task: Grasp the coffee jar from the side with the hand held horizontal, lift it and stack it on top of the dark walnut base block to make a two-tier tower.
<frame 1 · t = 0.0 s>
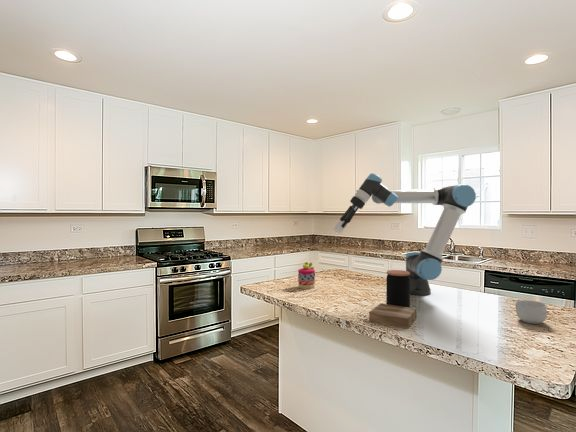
hand: (336, 231, 180), 36 cm above the countertop, tool tilted 35°, fingers open, 13 cm apart
teacup: (530, 321, 143), on the countertop
cake: (306, 287, 205), on the countertop
walnut base block: (393, 319, 144), on the countertop
coffee jar: (397, 309, 159), on the countertop
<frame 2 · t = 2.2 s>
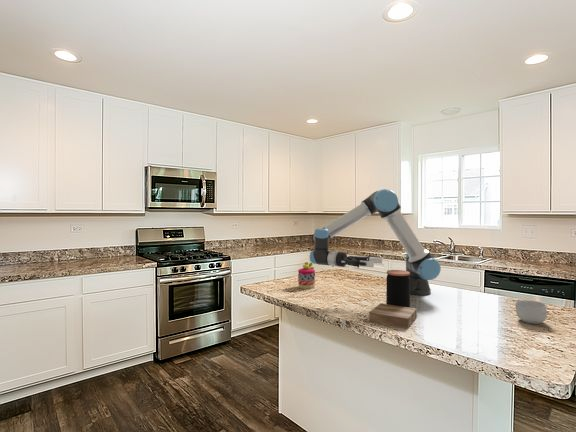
hand: (377, 262, 164), 22 cm above the countertop, tool horizontal, fingers open, 13 cm apart
nothing on the countertop moved.
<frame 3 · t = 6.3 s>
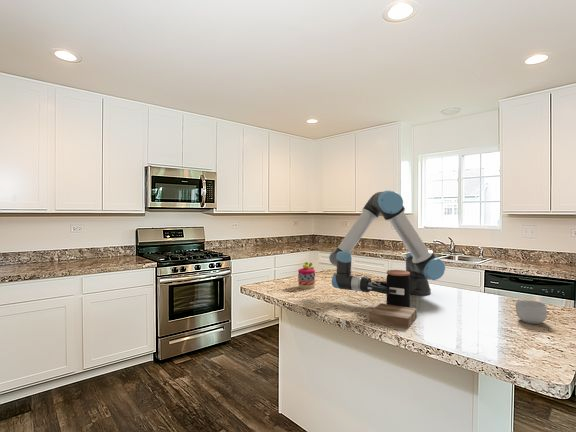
hand: (407, 289, 157), 10 cm above the countertop, tool horizontal, fingers closed on coffee jar, 10 cm apart
coffee jar: (398, 309, 159), on the countertop, touching gripper
everything else where it was.
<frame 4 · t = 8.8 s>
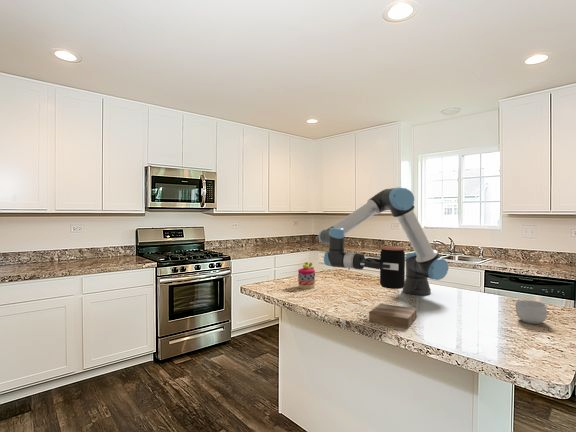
hand: (401, 265, 149), 23 cm above the countertop, tool horizontal, fingers closed on coffee jar, 11 cm apart
coffee jar: (392, 287, 151), point 12 cm above the countertop, touching gripper
everything else where it was.
when the fingers open (15 cm above the countertop, at t = 11.7 s): coffee jar stays where it is, resting on walnut base block.
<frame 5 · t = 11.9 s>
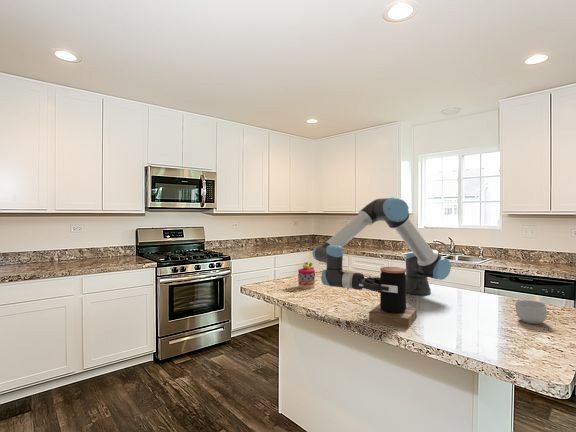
hand: (401, 286, 142), 15 cm above the countertop, tool horizontal, fingers open, 13 cm apart
coffee jar: (393, 310, 144), point 4 cm above the countertop, touching walnut base block
everything else where it was.
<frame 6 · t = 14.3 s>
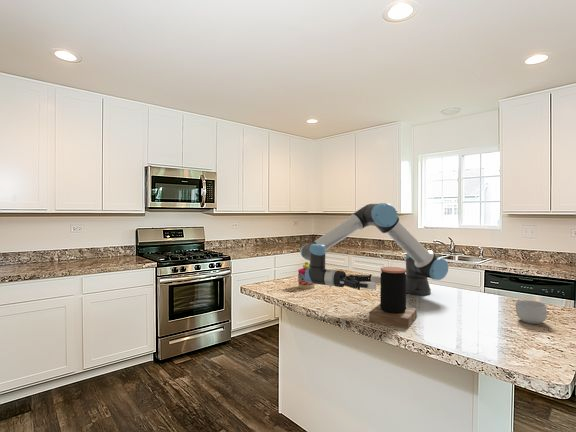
hand: (380, 283, 147), 15 cm above the countertop, tool horizontal, fingers open, 13 cm apart
nothing on the countertop moved.
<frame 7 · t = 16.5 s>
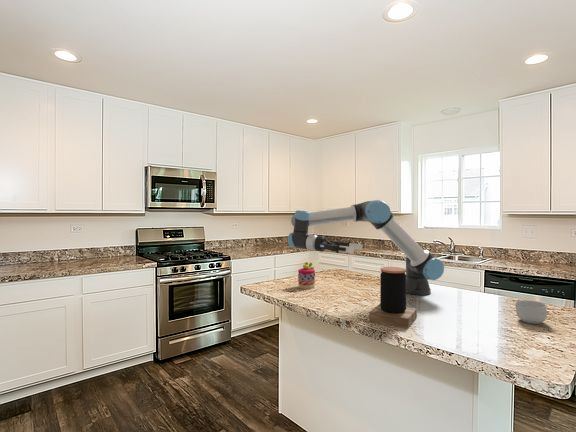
hand: (357, 248, 157), 29 cm above the countertop, tool horizontal, fingers open, 13 cm apart
nothing on the countertop moved.
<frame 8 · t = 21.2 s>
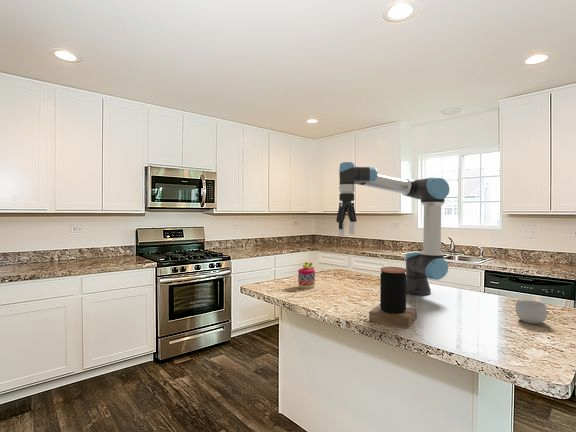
hand: (346, 235, 169), 35 cm above the countertop, tool pointing down, fingers open, 13 cm apart
nothing on the countertop moved.
at the end: coffee jar inside the target area on the walnut base block (0.1 cm from its centre), point 3.8 cm above the walnut base block's base; coffee jar tilted 0°; the gripper is holding nothing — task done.
